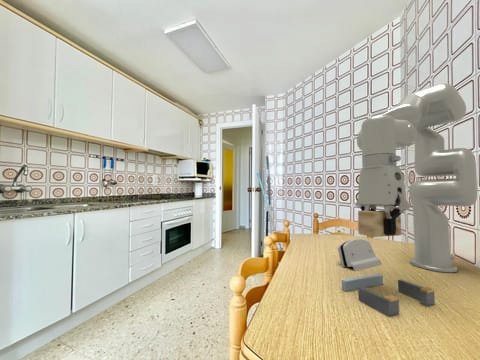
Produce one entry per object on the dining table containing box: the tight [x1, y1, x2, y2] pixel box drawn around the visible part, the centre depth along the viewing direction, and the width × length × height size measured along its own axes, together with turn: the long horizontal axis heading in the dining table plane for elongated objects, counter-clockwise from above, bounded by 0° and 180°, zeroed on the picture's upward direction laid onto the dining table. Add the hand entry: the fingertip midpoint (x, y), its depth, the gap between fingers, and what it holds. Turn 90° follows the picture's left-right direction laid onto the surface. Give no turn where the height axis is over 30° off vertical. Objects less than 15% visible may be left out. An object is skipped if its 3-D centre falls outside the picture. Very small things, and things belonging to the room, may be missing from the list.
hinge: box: [337, 238, 382, 272], centre depth 76 cm, size 17×5×10 cm, turn 119°
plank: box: [341, 273, 384, 292], centre depth 57 cm, size 14×1×2 cm, turn 110°
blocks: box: [357, 278, 436, 318], centre depth 49 cm, size 15×7×3 cm, turn 110°
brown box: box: [357, 209, 402, 238], centre depth 54 cm, size 10×4×6 cm, turn 109°
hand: (380, 232), depth 54 cm, fingers closed on brown box, 4 cm apart
